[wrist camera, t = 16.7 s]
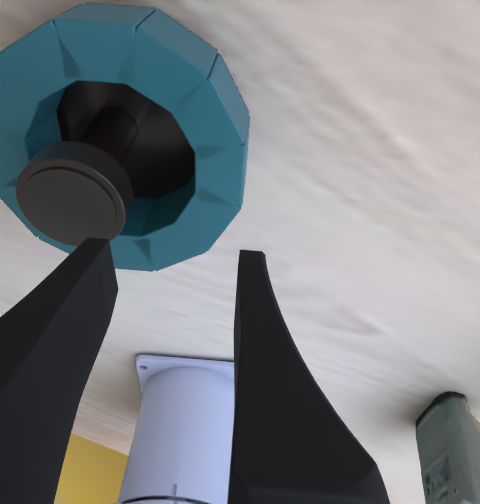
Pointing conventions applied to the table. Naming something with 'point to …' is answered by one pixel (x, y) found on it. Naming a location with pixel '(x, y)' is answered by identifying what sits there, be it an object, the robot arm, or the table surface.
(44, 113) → the ring
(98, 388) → the table surface
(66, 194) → the dark grey round knob
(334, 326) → the table surface
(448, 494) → the grey-green upright box
